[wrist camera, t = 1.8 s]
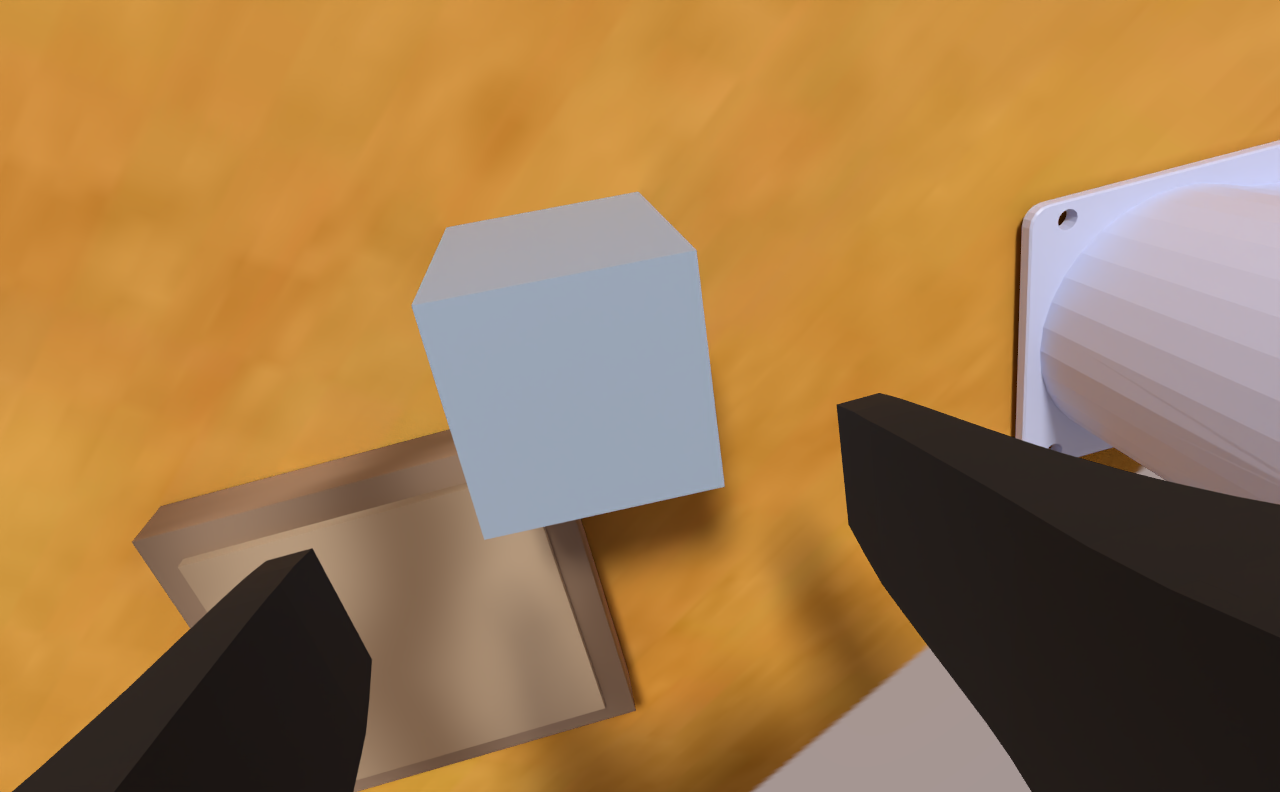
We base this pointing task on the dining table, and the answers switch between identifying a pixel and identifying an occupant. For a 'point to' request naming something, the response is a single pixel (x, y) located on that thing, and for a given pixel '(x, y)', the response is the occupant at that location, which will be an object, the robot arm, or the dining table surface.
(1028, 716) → the robot arm
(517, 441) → the blue block
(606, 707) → the walnut plinth
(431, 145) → the dining table surface
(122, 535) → the dining table surface
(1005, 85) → the dining table surface
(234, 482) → the dining table surface
